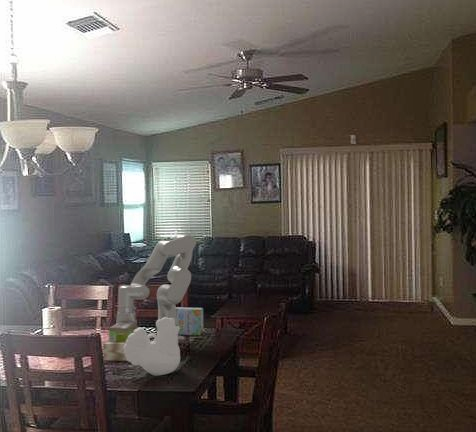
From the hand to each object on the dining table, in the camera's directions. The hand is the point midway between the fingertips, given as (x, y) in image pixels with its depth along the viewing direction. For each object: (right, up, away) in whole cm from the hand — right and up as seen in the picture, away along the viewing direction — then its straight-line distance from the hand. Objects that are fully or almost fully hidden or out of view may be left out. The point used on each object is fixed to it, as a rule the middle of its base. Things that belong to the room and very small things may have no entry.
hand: (126, 344), depth 300 cm
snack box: (+27, -2, +35) cm, 44 cm away
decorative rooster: (+20, -3, -43) cm, 48 cm away
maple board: (-1, -3, -20) cm, 20 cm away
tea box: (0, -3, -9) cm, 9 cm away
